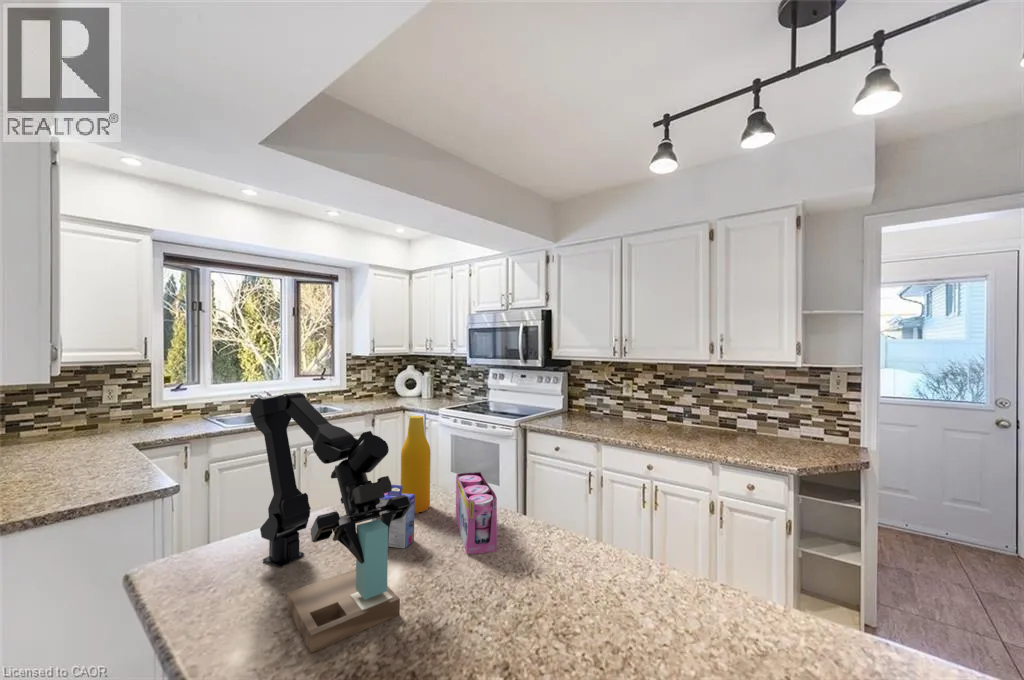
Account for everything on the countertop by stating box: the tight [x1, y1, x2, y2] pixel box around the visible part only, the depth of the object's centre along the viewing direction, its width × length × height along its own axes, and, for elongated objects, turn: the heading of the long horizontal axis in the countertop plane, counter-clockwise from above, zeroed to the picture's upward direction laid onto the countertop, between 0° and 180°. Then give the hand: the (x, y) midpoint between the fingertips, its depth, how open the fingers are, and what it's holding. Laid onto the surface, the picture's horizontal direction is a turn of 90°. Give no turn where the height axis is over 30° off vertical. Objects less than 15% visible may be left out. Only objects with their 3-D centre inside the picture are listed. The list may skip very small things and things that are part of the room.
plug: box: [355, 519, 389, 600], centre depth 82 cm, size 4×4×12 cm
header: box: [286, 568, 401, 654], centre depth 82 cm, size 16×16×3 cm
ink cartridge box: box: [371, 484, 415, 549], centre depth 111 cm, size 10×6×14 cm, turn 78°
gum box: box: [455, 471, 498, 555], centre depth 116 cm, size 24×8×14 cm, turn 15°
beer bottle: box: [400, 415, 432, 514], centre depth 133 cm, size 9×9×29 cm
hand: (374, 558), depth 81 cm, fingers closed on plug, 4 cm apart
